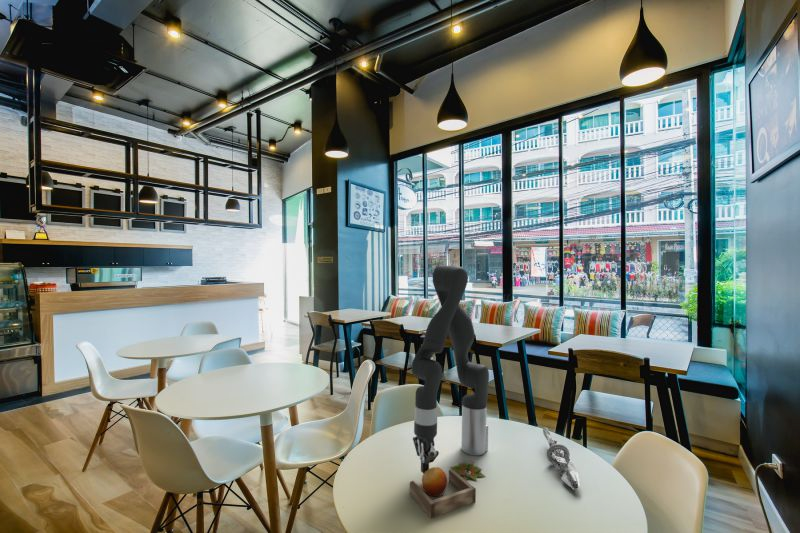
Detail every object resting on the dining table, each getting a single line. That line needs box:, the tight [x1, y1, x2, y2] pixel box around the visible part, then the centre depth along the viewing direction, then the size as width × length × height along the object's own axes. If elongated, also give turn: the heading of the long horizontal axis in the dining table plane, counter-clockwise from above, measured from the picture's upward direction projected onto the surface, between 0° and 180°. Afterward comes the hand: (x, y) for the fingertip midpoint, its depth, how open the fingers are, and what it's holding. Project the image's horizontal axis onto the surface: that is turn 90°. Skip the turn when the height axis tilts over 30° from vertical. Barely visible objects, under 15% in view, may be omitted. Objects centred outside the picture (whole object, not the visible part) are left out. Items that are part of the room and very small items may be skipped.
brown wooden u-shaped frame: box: [409, 468, 477, 519], centre depth 113 cm, size 16×12×4 cm
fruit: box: [421, 466, 448, 497], centre depth 116 cm, size 8×8×8 cm
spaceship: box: [542, 426, 581, 491], centre depth 133 cm, size 8×35×8 cm
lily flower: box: [450, 458, 486, 482], centre depth 127 cm, size 12×12×5 cm
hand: (424, 472), depth 121 cm, fingers closed
